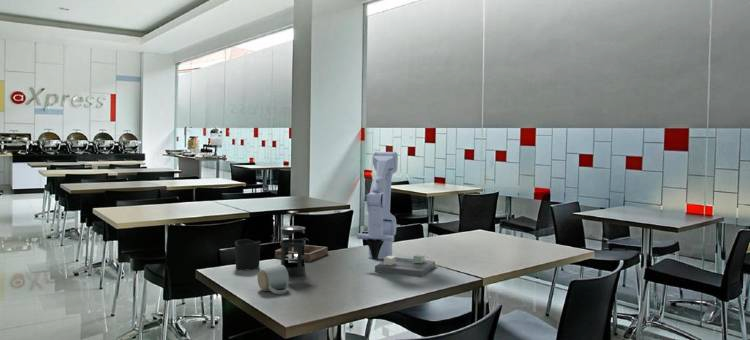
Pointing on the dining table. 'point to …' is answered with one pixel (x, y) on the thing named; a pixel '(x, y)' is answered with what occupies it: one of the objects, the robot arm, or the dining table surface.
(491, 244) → the dining table surface
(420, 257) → the sage fader
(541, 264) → the dining table surface
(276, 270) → the ceramic mug
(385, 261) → the block
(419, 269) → the console
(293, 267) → the french press
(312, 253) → the tray
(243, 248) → the pen holder
